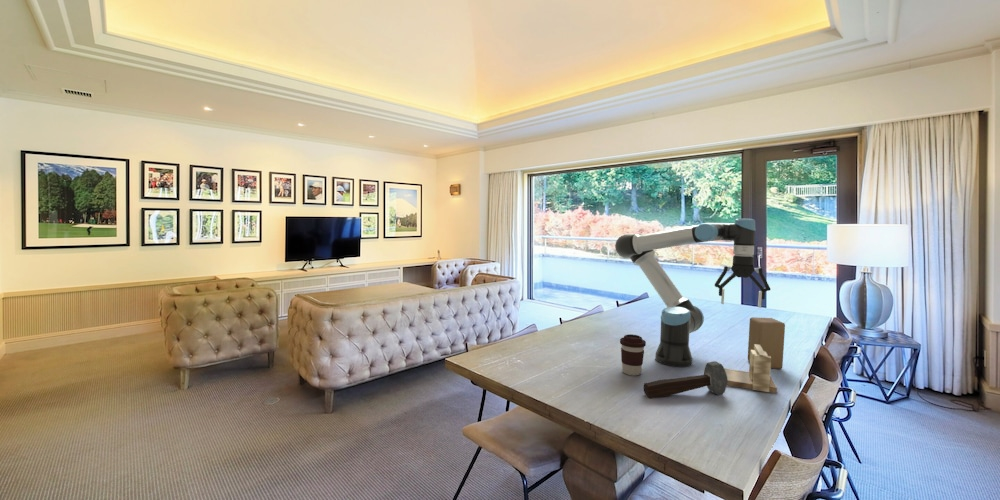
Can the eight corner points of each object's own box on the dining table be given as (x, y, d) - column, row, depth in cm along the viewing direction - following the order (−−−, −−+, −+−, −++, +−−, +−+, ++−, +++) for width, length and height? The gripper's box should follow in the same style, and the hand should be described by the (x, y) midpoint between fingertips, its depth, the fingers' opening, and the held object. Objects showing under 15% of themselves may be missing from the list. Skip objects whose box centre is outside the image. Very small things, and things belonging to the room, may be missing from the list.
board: (714, 383, 154) (714, 378, 154) (712, 371, 167) (712, 366, 167) (776, 393, 146) (776, 387, 146) (769, 379, 159) (769, 374, 158)
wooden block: (770, 361, 180) (772, 317, 178) (783, 369, 170) (786, 323, 168) (746, 360, 181) (748, 316, 179) (758, 368, 171) (761, 322, 169)
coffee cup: (648, 372, 165) (650, 336, 163) (638, 379, 157) (639, 341, 156) (625, 366, 171) (626, 331, 170) (614, 372, 164) (615, 336, 163)
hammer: (650, 409, 140) (728, 394, 144) (647, 378, 139) (726, 364, 143) (643, 403, 144) (719, 388, 149) (640, 373, 143) (717, 359, 148)
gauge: (752, 389, 148) (755, 354, 147) (747, 376, 161) (749, 343, 160) (769, 392, 146) (771, 356, 145) (762, 378, 159) (764, 345, 158)
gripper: (710, 254, 171) (708, 303, 173) (780, 257, 161) (777, 309, 162) (709, 253, 178) (707, 300, 179) (777, 256, 167) (773, 306, 169)
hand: (740, 305), depth 171 cm, fingers open, 13 cm apart
